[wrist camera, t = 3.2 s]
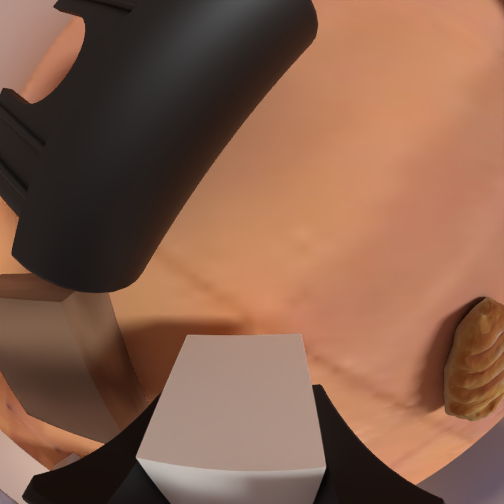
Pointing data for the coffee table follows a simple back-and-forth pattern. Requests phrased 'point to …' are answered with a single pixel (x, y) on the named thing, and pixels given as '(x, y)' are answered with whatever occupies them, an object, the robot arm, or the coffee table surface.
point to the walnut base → (67, 358)
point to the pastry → (476, 363)
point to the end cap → (136, 127)
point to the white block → (236, 424)
